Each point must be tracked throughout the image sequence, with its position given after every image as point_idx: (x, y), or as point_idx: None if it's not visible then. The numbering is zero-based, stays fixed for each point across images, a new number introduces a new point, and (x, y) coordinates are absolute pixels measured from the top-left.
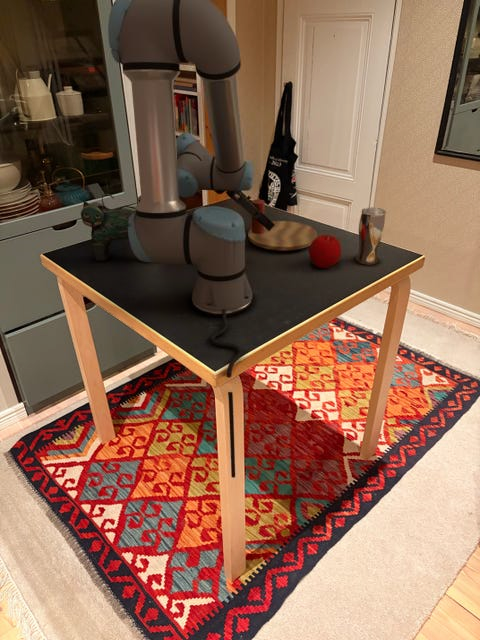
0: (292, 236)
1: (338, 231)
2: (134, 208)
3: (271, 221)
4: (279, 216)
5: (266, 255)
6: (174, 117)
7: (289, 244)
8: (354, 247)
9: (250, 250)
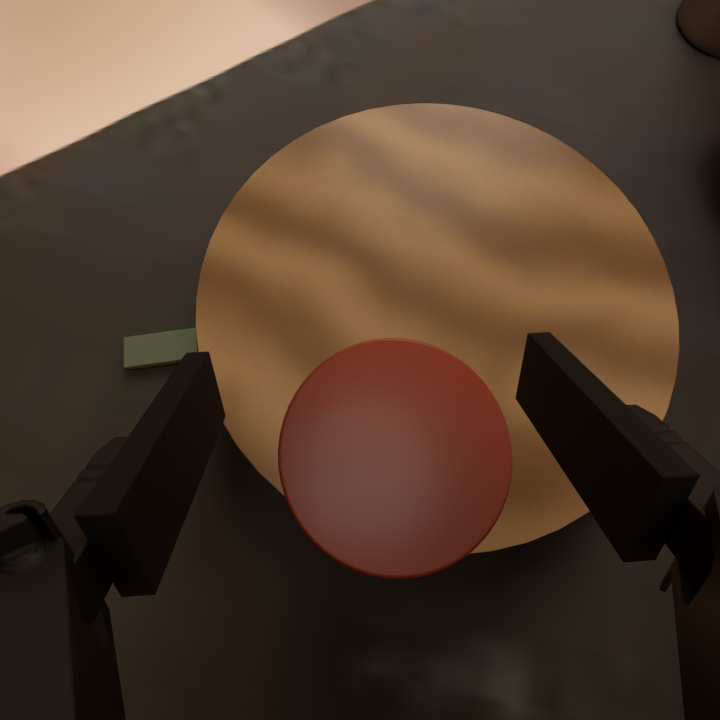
0: (504, 248)
1: (360, 20)
2: None
3: (565, 355)
4: (23, 229)
5: None
6: None
7: (640, 300)
8: (570, 21)
9: (561, 559)
